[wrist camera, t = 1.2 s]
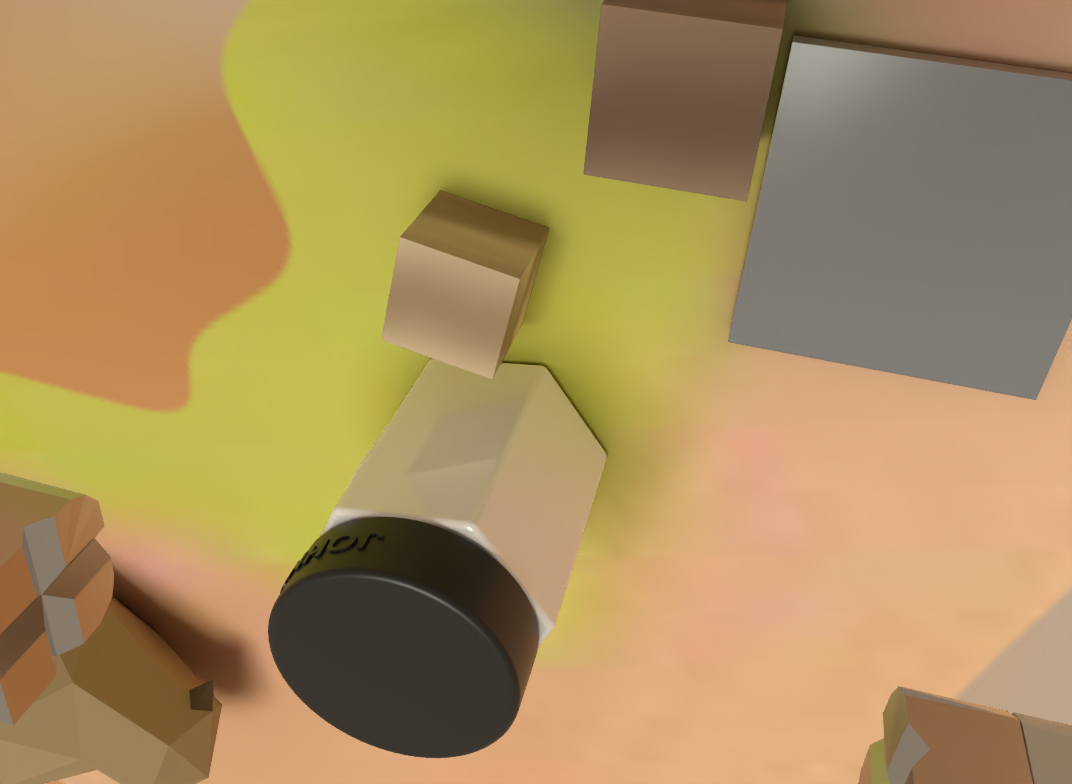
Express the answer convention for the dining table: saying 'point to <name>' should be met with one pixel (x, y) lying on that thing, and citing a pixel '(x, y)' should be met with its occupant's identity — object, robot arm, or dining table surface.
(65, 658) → the low-poly potato
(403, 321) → the oak block
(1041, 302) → the coaster
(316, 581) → the jar
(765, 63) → the walnut block
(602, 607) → the dining table surface
